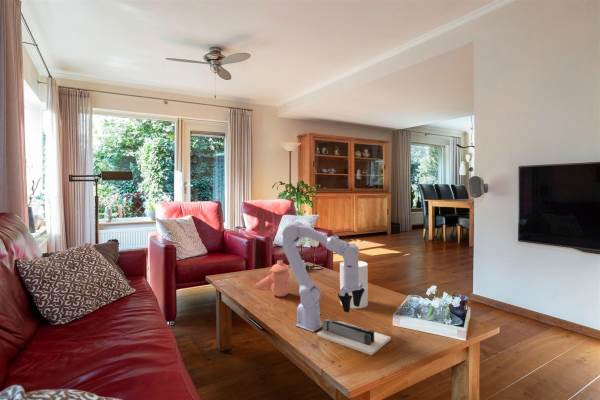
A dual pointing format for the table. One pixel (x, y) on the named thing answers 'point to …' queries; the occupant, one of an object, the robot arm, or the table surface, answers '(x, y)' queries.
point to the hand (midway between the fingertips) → (351, 308)
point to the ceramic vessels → (276, 280)
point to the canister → (362, 278)
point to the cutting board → (375, 346)
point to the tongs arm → (356, 329)
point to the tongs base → (346, 332)
